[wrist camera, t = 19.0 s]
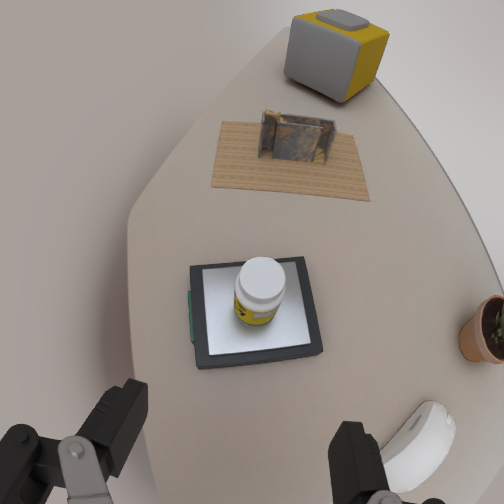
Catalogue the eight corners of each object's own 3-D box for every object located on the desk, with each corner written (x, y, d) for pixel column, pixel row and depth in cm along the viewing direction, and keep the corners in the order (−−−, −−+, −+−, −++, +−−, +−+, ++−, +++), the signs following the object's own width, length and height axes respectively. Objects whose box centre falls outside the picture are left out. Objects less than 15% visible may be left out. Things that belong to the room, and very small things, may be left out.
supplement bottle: (229, 291, 34) (229, 256, 27) (270, 283, 35) (281, 247, 28) (238, 332, 32) (241, 308, 25) (281, 323, 33) (297, 296, 26)
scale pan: (209, 356, 32) (208, 355, 31) (202, 272, 36) (201, 269, 35) (309, 344, 33) (311, 343, 32) (293, 264, 38) (295, 261, 37)
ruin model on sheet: (211, 187, 46) (209, 138, 37) (222, 120, 53) (222, 77, 45) (369, 201, 47) (393, 159, 38) (352, 135, 55) (368, 95, 46)
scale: (195, 369, 33) (192, 367, 31) (188, 274, 39) (186, 266, 36) (317, 355, 35) (323, 351, 33) (299, 265, 40) (303, 256, 38)
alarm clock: (320, 61, 70) (333, 3, 54) (372, 86, 66) (393, 27, 50) (278, 81, 62) (288, 10, 46) (338, 112, 58) (362, 37, 42)
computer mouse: (448, 424, 30) (477, 421, 25) (386, 497, 26) (412, 508, 20) (424, 396, 32) (452, 390, 27) (358, 470, 28) (381, 479, 22)
